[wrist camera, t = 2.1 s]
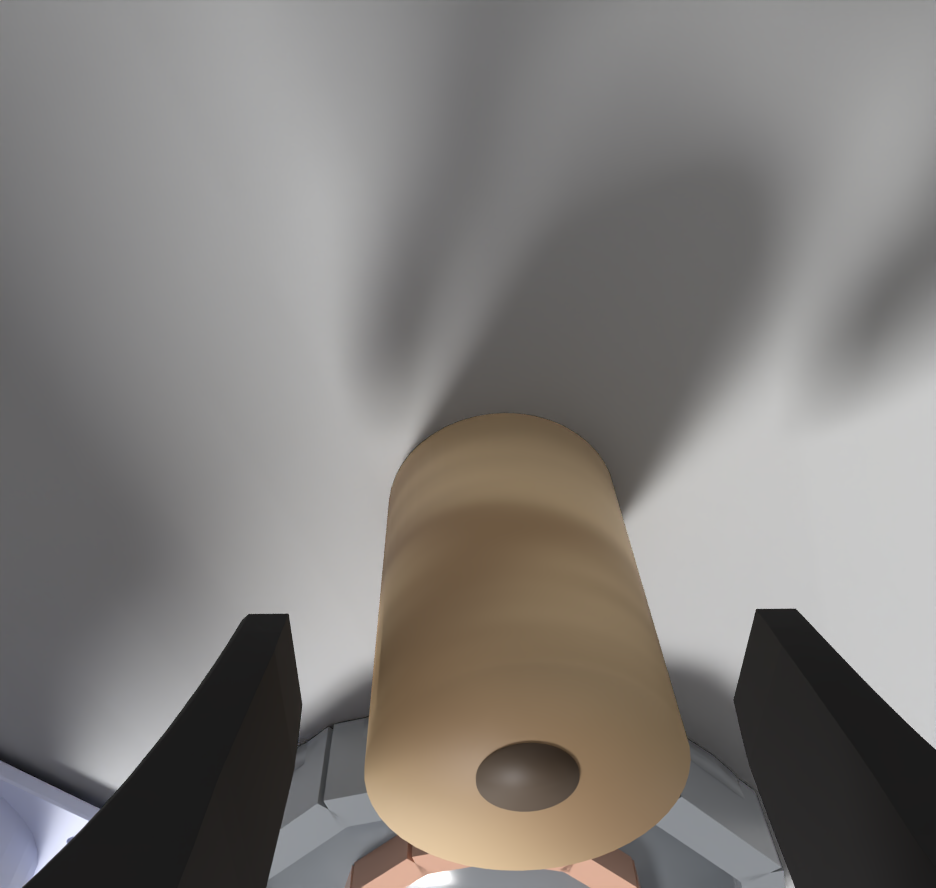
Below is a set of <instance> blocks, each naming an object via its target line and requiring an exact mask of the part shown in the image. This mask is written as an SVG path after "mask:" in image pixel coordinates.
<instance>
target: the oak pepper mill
mask: <svg viewBox="0 0 936 888" xmlns="http://www.w3.org/2000/svg"><path fill="white" fill-rule="evenodd" d="M690 762H691V757H690V746H689V743H688V739H687V736H686V732H685V729H684V726H683V722H682V719H681V715H680V712H679V708H678V705H677V702H676V698H675V695H674V691H673V688H672V685H671V681H670V678H669V674H668V671H667V667H666V664H665V661H664V657H663V654H662V650H661V647H660V644H659V640H658V637H657V633H656V630H655V626H654V623H653V620H652V616H651V613H650V609H649V606H648V603H647V599H646V596H645V592H644V589H643V585H642V582H641V579H640V575H639V572H638V568H637V565H636V562H635V558H634V555H633V551H632V548H631V544H630V541H629V538H628V534H627V531H626V527H625V524H624V521H623V517H622V514H621V510H620V507H619V503H618V500H617V497H616V493H615V490H614V486H613V483H612V480H611V476H610V473H609V471H608V469H607V467H606V465H605V463H604V461H603V460H602V459H601V457H600V456H599V454H598V453H597V452H596V451H595V449H594V448H593V447H592V446H591V445H590V444H589V443H588V442H587V441H585V440H584V439H583V438H582V437H580V436H579V435H578V434H577V433H575V432H573V431H571V430H570V429H568V428H566V427H565V426H562V425H560V424H558V423H555V422H553V421H551V420H547V419H544V418H540V417H537V416H531V415H525V414H516V413H497V414H486V415H481V416H475V417H471V418H468V419H465V420H461V421H458V422H456V423H454V424H451V425H449V426H447V427H444V428H443V429H441V430H439V431H437V432H436V433H434V434H432V435H431V436H430V437H428V438H427V439H426V440H424V441H423V442H422V443H420V444H419V445H418V446H417V447H416V448H415V449H414V450H413V451H412V452H411V453H410V454H409V456H408V457H407V458H406V460H405V461H404V462H403V464H402V465H401V467H400V469H399V471H398V473H397V475H396V476H395V479H394V482H393V485H392V488H391V493H390V498H389V507H388V517H387V528H386V539H385V550H384V561H383V571H382V582H381V593H380V604H379V615H378V625H377V636H376V647H375V658H374V669H373V679H372V690H371V701H370V712H369V723H368V733H367V744H366V755H365V766H364V780H365V785H366V790H367V794H368V796H369V799H370V801H371V804H372V806H373V807H374V809H375V811H376V812H377V814H378V815H379V817H380V818H381V819H382V820H383V821H384V822H385V824H386V825H387V826H388V827H389V828H390V829H391V830H392V831H394V832H395V833H396V834H397V835H398V836H400V837H401V838H402V839H404V840H405V841H407V842H408V843H410V844H411V845H413V846H415V847H416V848H418V849H420V850H423V851H425V852H427V853H429V854H431V855H433V856H436V857H439V858H442V859H444V860H447V861H451V862H454V863H458V864H462V865H466V866H472V867H477V868H483V869H493V870H511V871H524V870H541V869H548V868H556V867H562V866H567V865H571V864H576V863H580V862H583V861H587V860H590V859H593V858H597V857H599V856H602V855H604V854H607V853H610V852H612V851H614V850H616V849H618V848H620V847H622V846H624V845H626V844H628V843H630V842H632V841H634V840H635V839H637V838H638V837H640V836H641V835H643V834H645V833H646V832H647V831H648V830H650V829H651V828H652V827H654V826H655V825H656V824H657V823H658V822H659V821H660V820H661V819H662V818H663V817H664V816H665V815H666V814H667V813H668V812H669V811H670V810H671V808H672V807H673V806H674V804H675V803H676V802H677V800H678V799H679V797H680V795H681V793H682V791H683V789H684V787H685V785H686V782H687V778H688V775H689V770H690Z"/></svg>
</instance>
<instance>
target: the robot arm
mask: <svg viewBox="0 0 936 888" xmlns="http://www.w3.org/2000/svg"><path fill="white" fill-rule="evenodd" d="M734 704H735V708H736V713H737V717H738V722H739V726H740V730H741V735H742V739H743V743H744V747H745V750H746V754H747V758H748V762H749V765H750V768H751V771H752V774H753V776H754V779H755V782H756V785H757V787H758V790H759V793H760V795H761V798H762V801H763V804H764V806H765V809H766V812H767V814H768V817H769V820H770V822H771V825H772V828H773V830H774V833H775V835H776V838H777V841H778V843H779V846H780V849H781V851H782V854H783V857H784V859H785V862H786V864H787V867H788V870H789V872H790V875H791V878H792V880H793V883H794V886H795V888H936V749H934V748H933V747H932V746H931V745H930V744H929V743H928V742H927V741H926V740H924V739H923V738H922V737H921V736H920V735H919V734H918V733H917V732H916V731H915V730H914V729H913V728H912V727H911V726H910V725H909V724H907V723H906V722H905V721H904V720H903V719H902V718H901V717H900V716H899V715H898V714H897V713H896V712H895V711H894V710H893V709H892V708H891V707H890V706H889V705H888V704H887V703H886V702H885V701H884V700H883V699H882V698H881V697H880V696H879V695H878V694H877V693H876V692H875V691H874V690H873V689H872V688H871V687H870V686H869V685H868V684H867V683H866V682H865V681H864V680H863V679H862V678H861V677H860V676H859V675H858V674H857V673H856V671H855V670H854V669H853V668H852V667H851V666H850V665H849V664H848V663H847V662H846V661H845V660H844V659H843V658H842V657H841V656H840V655H839V654H838V653H837V652H836V651H835V650H834V648H833V647H832V646H831V645H830V644H829V643H828V642H827V641H826V640H825V639H824V638H823V637H822V636H821V635H820V634H819V633H818V632H817V631H816V629H815V628H814V627H813V626H812V625H811V624H810V623H809V622H808V621H807V620H806V619H805V618H804V617H803V616H802V615H801V614H800V613H799V612H798V611H797V610H796V609H756V612H755V616H754V620H753V624H752V628H751V632H750V636H749V640H748V644H747V648H746V652H745V656H744V660H743V664H742V668H741V672H740V676H739V680H738V684H737V688H736V692H735V696H734ZM301 711H302V700H301V694H300V687H299V680H298V674H297V667H296V660H295V654H294V647H293V640H292V634H291V627H290V620H289V614H248V615H247V616H246V617H245V618H244V619H243V620H242V621H241V623H240V624H239V626H238V628H237V629H236V631H235V633H234V634H233V636H232V637H231V639H230V641H229V642H228V644H227V645H226V647H225V648H224V650H223V652H222V653H221V655H220V656H219V658H218V659H217V661H216V662H215V664H214V665H213V667H212V668H211V670H210V671H209V672H208V674H207V675H206V677H205V678H204V680H203V681H202V683H201V684H200V686H199V687H198V688H197V690H196V691H195V692H194V694H193V695H192V697H191V698H190V699H189V701H188V702H187V703H186V705H185V706H184V708H183V709H182V710H181V712H180V713H179V714H178V716H177V717H176V718H175V720H174V721H173V723H172V724H171V725H170V727H169V728H168V729H167V730H166V732H165V733H164V734H163V736H162V737H161V738H160V739H159V741H158V742H157V743H156V744H155V745H154V747H153V748H152V749H151V750H150V752H149V753H148V754H147V755H146V757H145V758H144V759H143V760H142V761H141V763H140V764H139V765H138V766H137V768H136V769H135V770H134V771H133V773H132V774H131V775H130V776H129V777H128V778H127V780H126V781H125V782H124V783H123V784H122V785H121V787H120V788H119V789H118V790H117V791H116V792H115V793H114V795H113V796H112V797H111V798H110V799H109V800H108V801H107V802H106V803H105V805H104V806H103V807H102V808H101V809H100V808H97V807H95V806H93V805H91V804H89V803H87V802H85V801H83V800H81V799H79V798H77V797H75V796H73V795H71V794H68V793H66V792H64V791H62V790H60V789H58V788H56V787H54V786H52V785H50V784H48V783H46V782H44V781H42V780H40V779H37V778H35V777H33V776H31V775H29V774H27V773H25V772H23V771H21V770H19V769H17V768H15V767H13V766H11V765H9V764H6V763H4V762H2V761H0V888H266V887H267V882H268V878H269V874H270V870H271V866H272V862H273V857H274V853H275V849H276V845H277V841H278V837H279V832H280V828H281V824H282V820H283V816H284V812H285V807H286V803H287V799H288V795H289V790H290V786H291V782H292V777H293V773H294V768H295V761H296V753H297V745H298V737H299V729H300V720H301Z"/></svg>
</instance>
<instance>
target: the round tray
mask: <svg viewBox="0 0 936 888" xmlns="http://www.w3.org/2000/svg"><path fill="white" fill-rule="evenodd" d="M368 723H369V717H366V718H363V719H358V720H353V721H348V722H343V723H338V724H334V728H333V729H331V728H330V727H327V728H326V729H324V730H323V731H322V732H320V733H319V734H318V735H316V736H315V737H314V738H312V739H311V740H310V741H308V742H307V743H305V744H302V745H301V746H299V747H298V748H297V753H296V761H295V768H294V773H293V777H292V782H291V786H290V790H289V795H288V799H287V803H286V807H285V812H284V816H283V820H282V824H281V828H280V832H279V837H278V841H277V845H276V849H275V853H274V857H273V862H272V866H271V870H270V874H269V878H268V882H267V887H266V888H786V887H785V879H784V870H783V867H782V865H781V862H780V859H779V856H778V853H777V850H776V847H775V845H774V842H773V839H772V836H771V833H770V830H769V827H768V825H767V822H766V819H765V816H764V813H763V810H762V807H761V805H760V802H759V799H758V796H757V795H756V793H755V791H754V790H753V789H751V788H750V787H749V786H747V785H746V784H745V783H743V782H742V781H741V780H739V779H738V778H737V777H736V776H735V774H734V773H732V772H731V771H730V770H729V769H728V768H727V767H726V766H725V765H723V764H722V763H721V762H720V761H719V760H718V759H717V758H716V757H714V756H713V755H712V754H710V753H709V752H707V751H706V750H704V749H702V748H701V747H699V746H698V745H696V744H695V743H693V742H692V741H690V740H688V743H689V746H690V757H691V762H690V770H689V775H688V778H687V782H686V785H685V787H684V789H683V791H682V793H681V795H680V797H679V799H678V800H677V802H676V803H675V804H674V806H673V807H672V808H671V810H670V811H669V812H668V813H667V814H666V815H665V816H664V817H663V818H662V819H661V820H660V821H659V822H658V823H657V824H656V825H655V826H654V827H652V828H651V829H650V830H648V831H647V832H646V833H645V834H643V835H641V836H640V837H638V838H637V839H635V840H634V841H632V842H630V843H628V844H626V845H624V846H622V847H620V848H618V849H616V850H614V851H612V852H610V853H607V854H604V855H602V856H599V857H597V858H593V859H590V860H587V861H583V862H580V863H576V864H571V865H567V866H562V867H556V868H548V869H541V870H524V871H511V870H493V869H483V868H477V867H472V866H466V865H462V864H458V863H454V862H451V861H447V860H444V859H442V858H439V857H436V856H433V855H431V854H429V853H427V852H425V851H423V850H420V849H418V848H416V847H415V846H413V845H411V844H410V843H408V842H407V841H405V840H404V839H402V838H401V837H400V836H398V835H397V834H396V833H395V832H394V831H392V830H391V829H390V828H389V827H388V826H387V825H386V824H385V822H384V821H383V820H382V819H381V818H380V817H379V815H378V814H377V812H376V811H375V809H374V807H373V806H372V804H371V801H370V799H369V796H368V794H367V790H366V785H365V780H364V766H365V755H366V744H367V733H368Z"/></svg>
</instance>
